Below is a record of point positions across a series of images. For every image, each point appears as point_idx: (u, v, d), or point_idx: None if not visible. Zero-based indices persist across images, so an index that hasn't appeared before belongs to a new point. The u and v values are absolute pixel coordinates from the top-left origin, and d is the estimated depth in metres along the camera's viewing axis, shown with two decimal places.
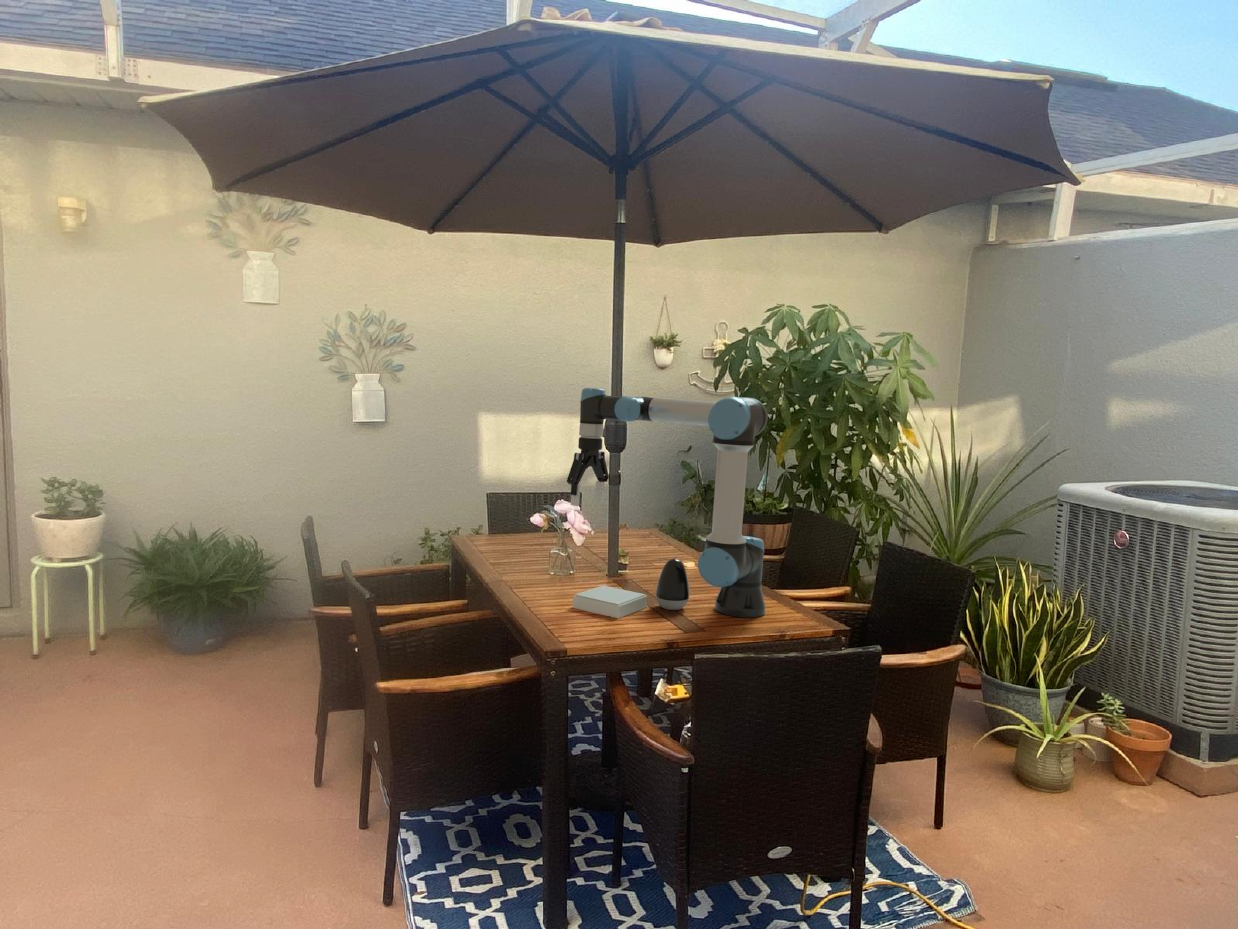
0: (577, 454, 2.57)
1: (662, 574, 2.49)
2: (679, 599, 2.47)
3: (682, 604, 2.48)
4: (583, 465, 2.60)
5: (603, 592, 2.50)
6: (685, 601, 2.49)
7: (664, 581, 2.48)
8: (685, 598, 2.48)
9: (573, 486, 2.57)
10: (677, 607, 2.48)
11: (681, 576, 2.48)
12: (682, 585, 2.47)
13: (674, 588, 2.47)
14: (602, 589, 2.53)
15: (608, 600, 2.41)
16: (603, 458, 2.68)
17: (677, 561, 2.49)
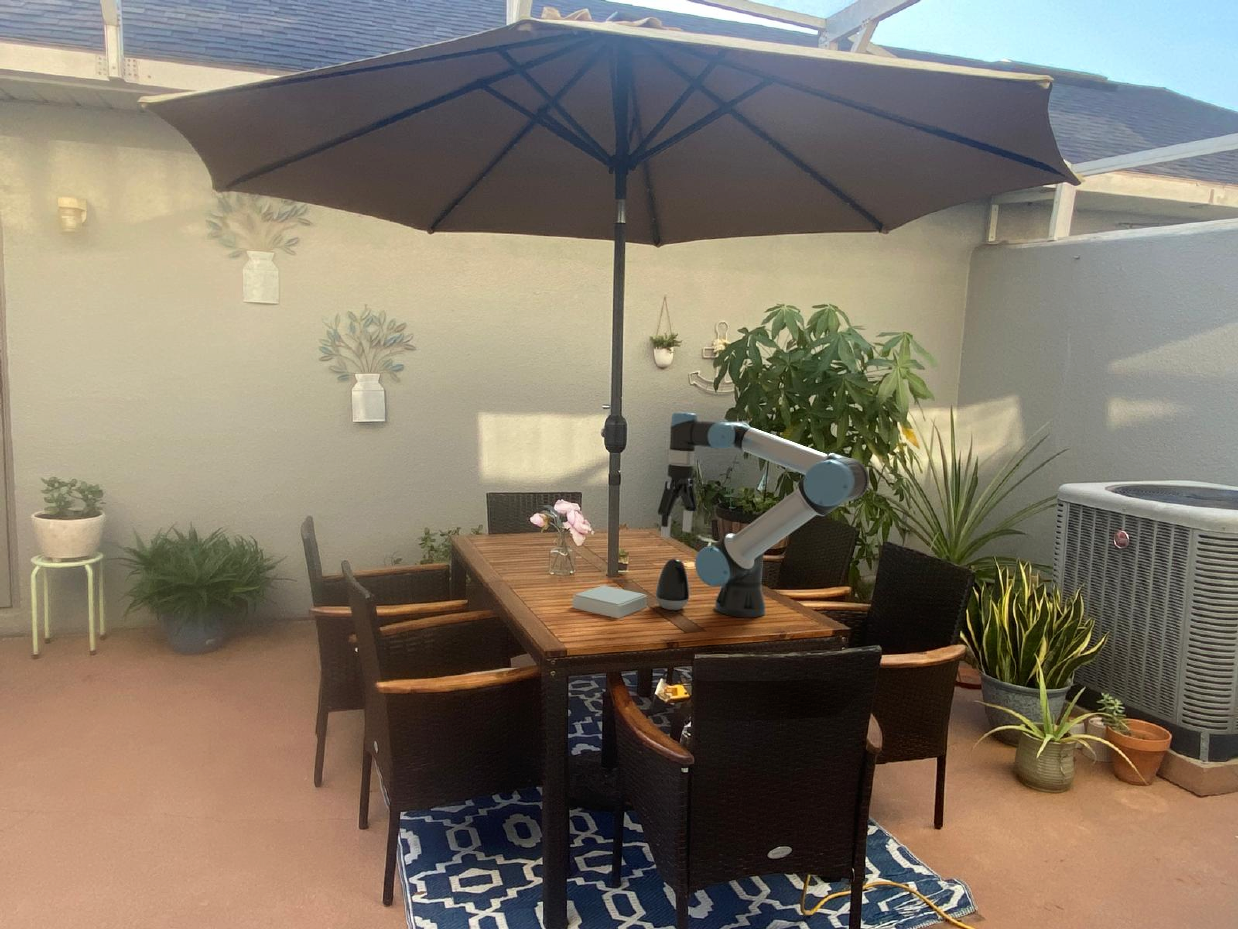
0: (669, 483, 2.42)
1: (662, 574, 2.49)
2: (679, 599, 2.47)
3: (682, 604, 2.48)
4: (674, 494, 2.45)
5: (603, 592, 2.50)
6: (685, 601, 2.49)
7: (664, 581, 2.48)
8: (685, 598, 2.48)
9: (664, 517, 2.42)
10: (677, 607, 2.48)
11: (681, 576, 2.48)
12: (682, 585, 2.47)
13: (674, 588, 2.47)
14: (602, 589, 2.53)
15: (608, 600, 2.41)
16: (692, 486, 2.53)
17: (677, 561, 2.49)
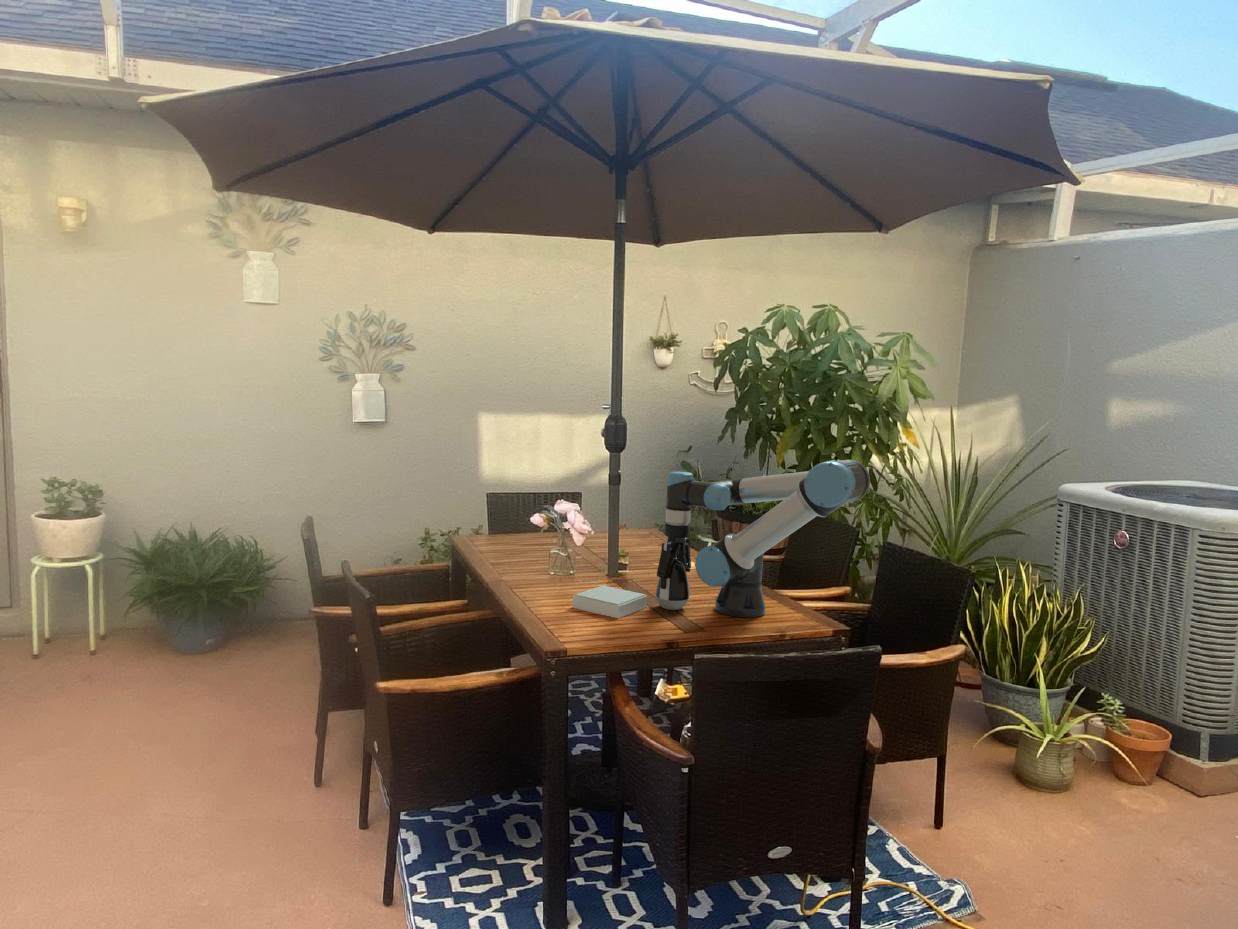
0: (665, 545, 2.44)
1: None
2: (679, 599, 2.47)
3: (682, 604, 2.48)
4: (671, 555, 2.47)
5: (603, 592, 2.50)
6: (685, 601, 2.49)
7: None
8: (685, 598, 2.48)
9: (663, 579, 2.45)
10: (677, 607, 2.48)
11: (681, 576, 2.48)
12: (682, 585, 2.47)
13: (674, 588, 2.46)
14: (602, 589, 2.53)
15: (608, 600, 2.41)
16: (688, 545, 2.55)
17: (677, 561, 2.49)
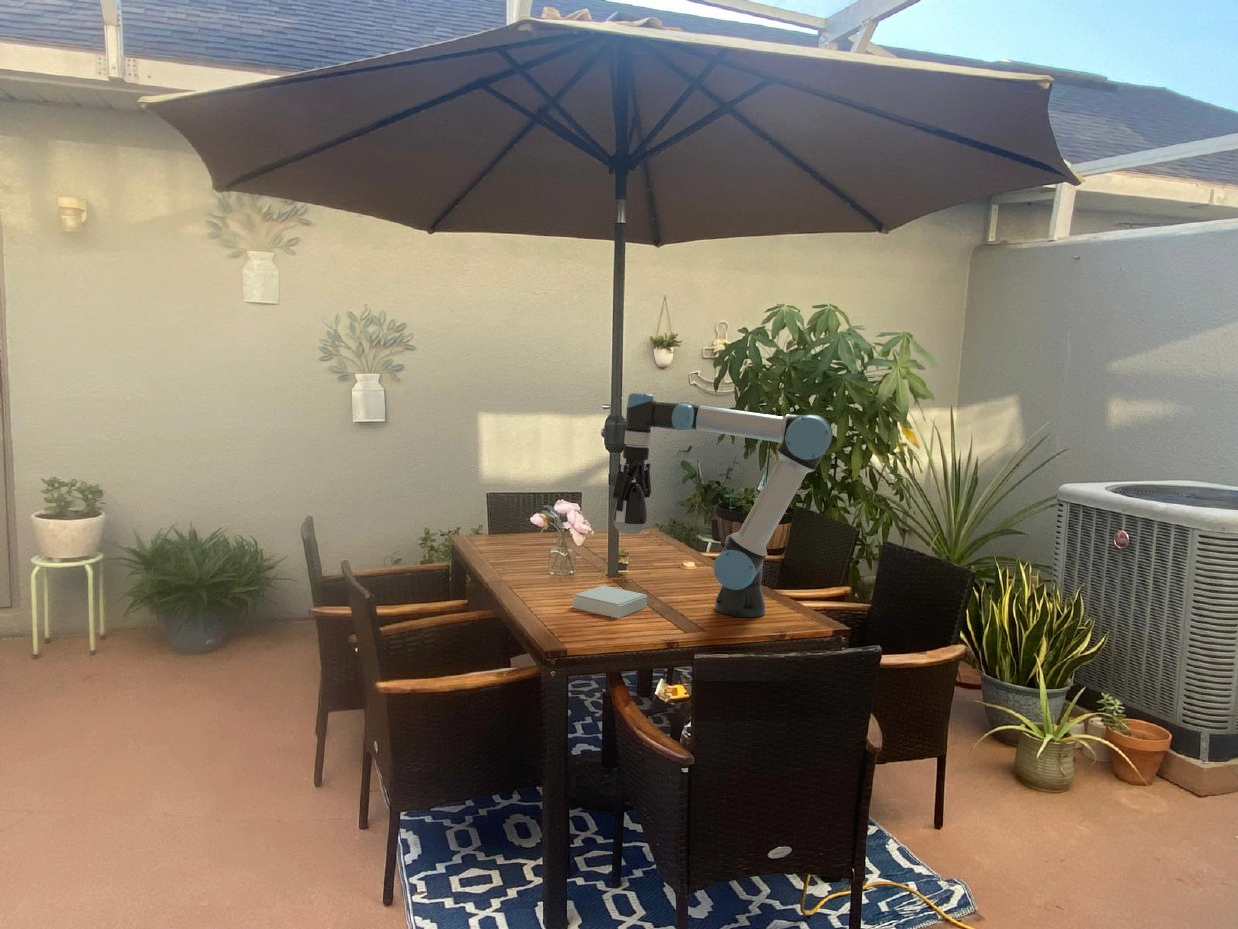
0: (622, 466, 2.39)
1: None
2: (635, 522, 2.42)
3: (639, 528, 2.44)
4: (628, 477, 2.42)
5: (603, 592, 2.50)
6: (642, 525, 2.44)
7: None
8: (642, 522, 2.43)
9: (619, 501, 2.40)
10: (633, 531, 2.44)
11: (638, 499, 2.43)
12: (639, 508, 2.43)
13: (630, 511, 2.42)
14: (602, 589, 2.53)
15: (608, 600, 2.41)
16: (648, 470, 2.50)
17: (635, 484, 2.44)
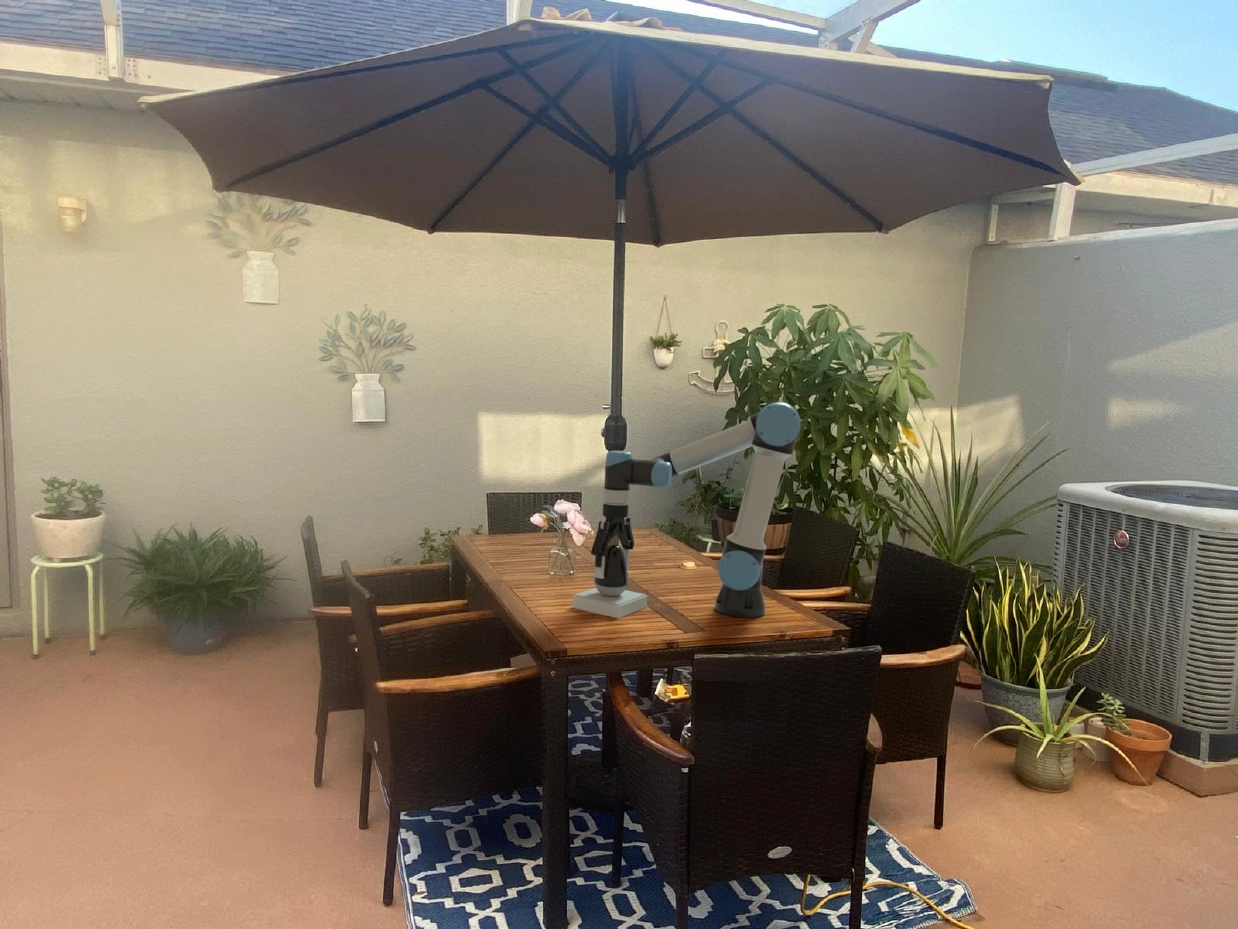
0: (602, 523, 2.40)
1: None
2: (616, 586, 2.42)
3: (620, 590, 2.44)
4: (608, 534, 2.42)
5: None
6: (623, 587, 2.45)
7: None
8: (623, 584, 2.44)
9: (598, 558, 2.39)
10: (615, 593, 2.44)
11: (619, 562, 2.43)
12: (620, 571, 2.43)
13: (611, 575, 2.42)
14: None
15: (608, 600, 2.41)
16: (629, 524, 2.50)
17: (615, 547, 2.44)
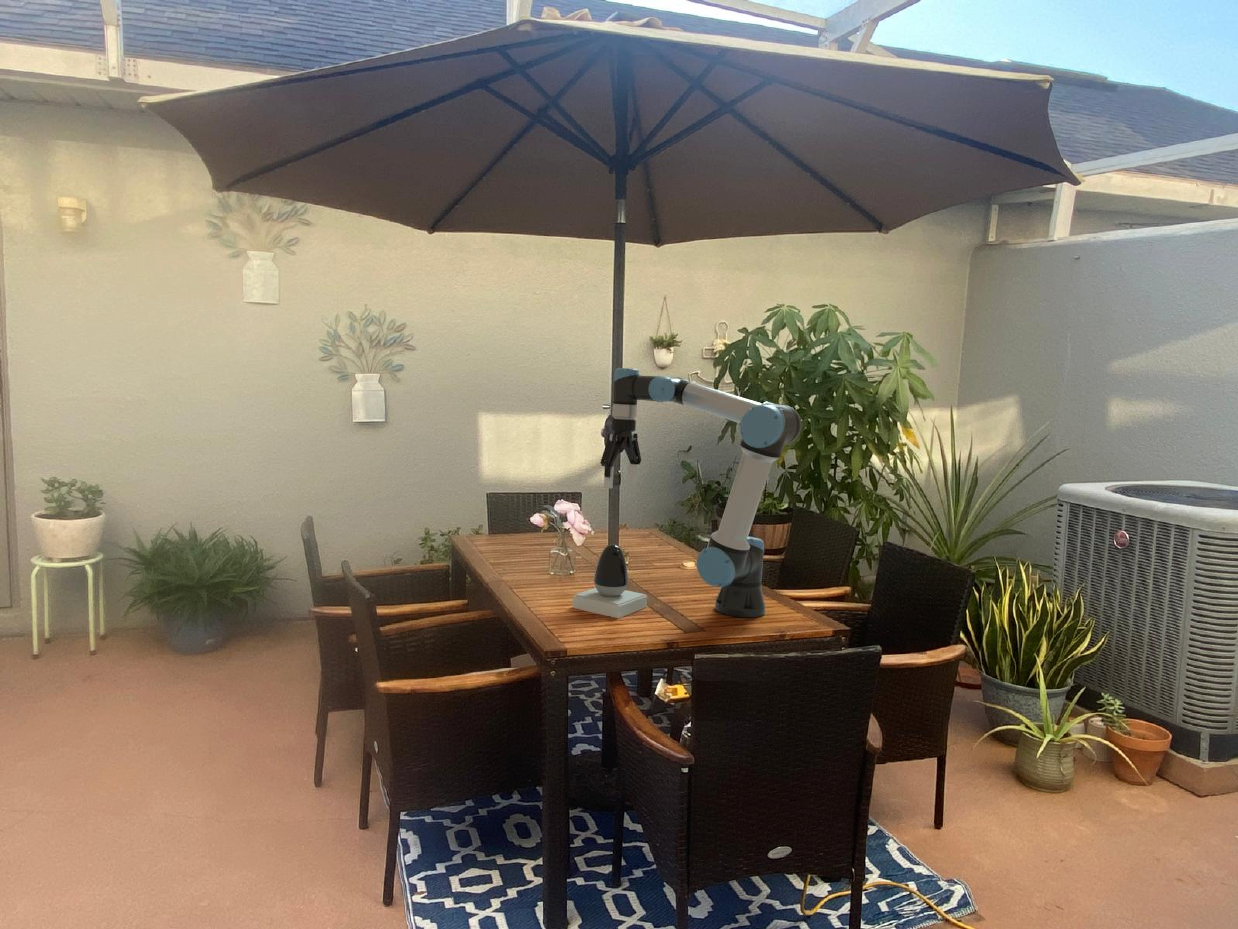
0: (611, 435, 2.52)
1: (600, 560, 2.45)
2: (616, 585, 2.43)
3: (620, 590, 2.44)
4: (616, 446, 2.55)
5: None
6: (623, 587, 2.45)
7: (602, 567, 2.44)
8: (623, 584, 2.44)
9: (607, 468, 2.52)
10: (615, 593, 2.44)
11: (618, 562, 2.43)
12: (620, 571, 2.43)
13: (611, 574, 2.42)
14: None
15: (608, 600, 2.41)
16: (636, 440, 2.63)
17: (615, 547, 2.45)
